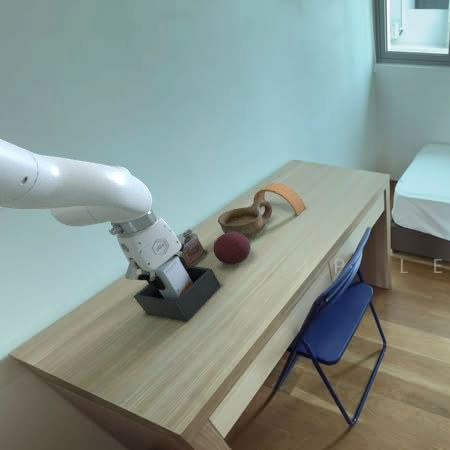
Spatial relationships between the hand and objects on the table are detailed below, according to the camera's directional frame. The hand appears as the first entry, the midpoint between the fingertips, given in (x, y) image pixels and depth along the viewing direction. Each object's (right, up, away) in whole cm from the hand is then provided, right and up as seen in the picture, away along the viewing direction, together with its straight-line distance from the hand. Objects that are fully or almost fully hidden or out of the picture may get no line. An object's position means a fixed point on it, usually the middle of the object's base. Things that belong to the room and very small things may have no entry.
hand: (171, 278), depth 79 cm
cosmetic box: (0, -6, +4) cm, 7 cm away
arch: (+11, +20, +43) cm, 49 cm away
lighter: (-6, +3, +19) cm, 20 cm away
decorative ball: (+8, +2, +18) cm, 19 cm away
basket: (0, -7, +5) cm, 8 cm away
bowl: (+6, +12, +32) cm, 34 cm away
